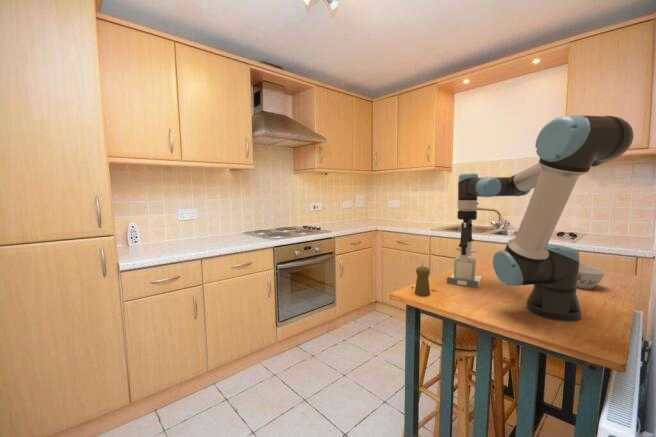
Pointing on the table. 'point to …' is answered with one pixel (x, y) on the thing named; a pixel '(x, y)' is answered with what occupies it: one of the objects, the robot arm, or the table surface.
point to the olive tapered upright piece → (422, 282)
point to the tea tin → (464, 269)
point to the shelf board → (464, 281)
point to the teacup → (589, 277)
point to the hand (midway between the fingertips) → (465, 259)
